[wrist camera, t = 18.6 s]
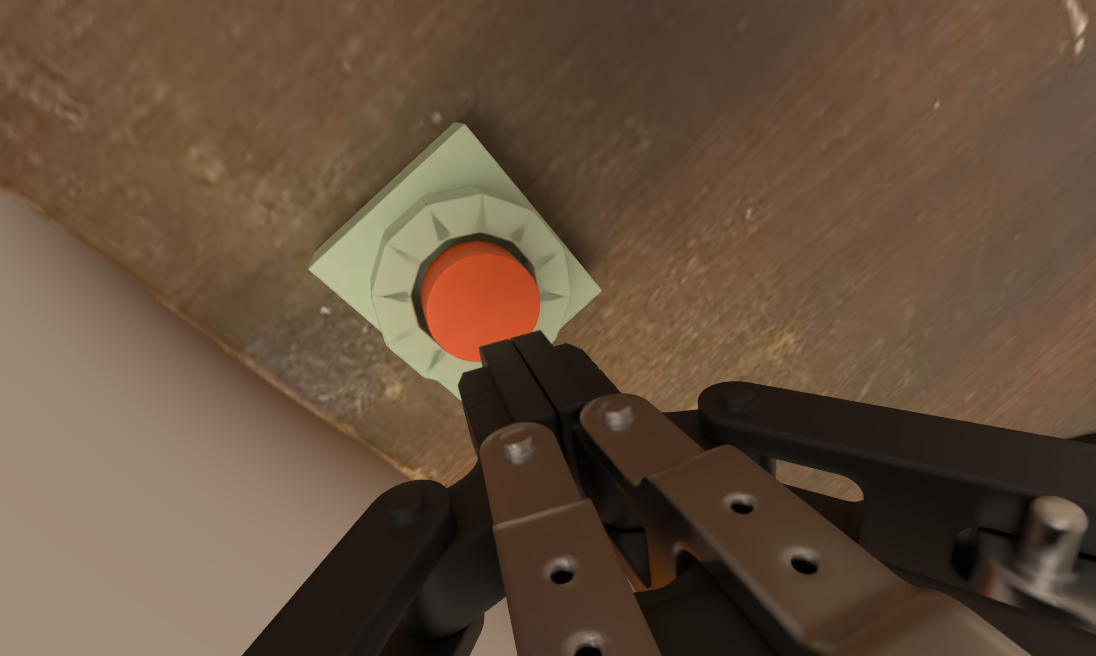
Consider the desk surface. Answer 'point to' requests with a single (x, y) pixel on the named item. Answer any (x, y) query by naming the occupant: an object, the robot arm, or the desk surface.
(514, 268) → the button
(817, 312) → the desk surface
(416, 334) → the button block
